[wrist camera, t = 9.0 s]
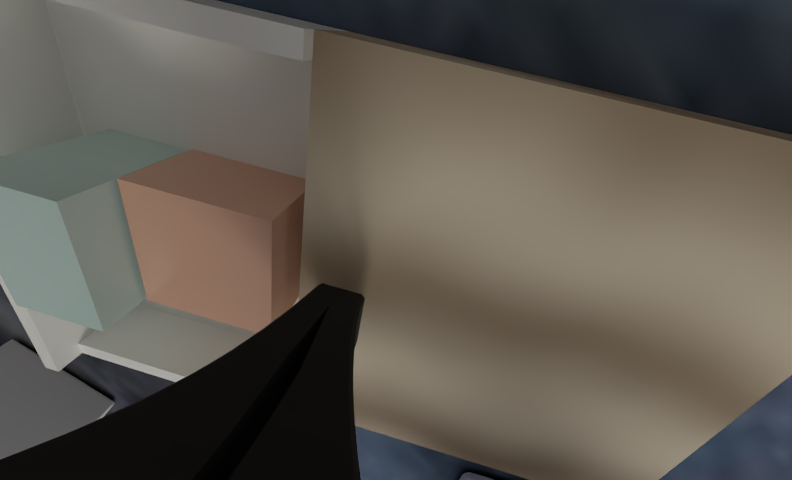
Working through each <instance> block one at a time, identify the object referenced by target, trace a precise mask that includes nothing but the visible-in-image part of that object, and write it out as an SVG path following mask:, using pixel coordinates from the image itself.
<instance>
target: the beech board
mask: <svg viewBox="0 0 792 480" xmlns="http://www.w3.org/2000/svg"><path fill="white" fill-rule="evenodd" d="M321 283H324V284H327V285H331V286H334V287H338V288H341V289H345V290H349V291H352V292H356V293H359V294H362V295H363V296H364V298H365V301H364V306H363V312H362V317H361V322H360V328H359V333H358V339H357V343H356V346H355V349H354V364H353V396H354V418H355V426H358V427H361V428H364V429H368V430H371V431H374V432H377V433H381V434H384V435H387V436H390V437H393V438H397V439H400V440H403V441H406V442H409V443H413V444H416V445H419V446H422V447H426V448H429V449H432V450H435V451H438V452H442V453H445V454H448V455H451V456H455V457H458V458H461V459H464V460H467V461H471V462H474V463H477V464H480V465H484V466H487V467H490V468H493V469H496V470H500V471H503V472H506V473H509V474H513V475H516V476H519V477H522V478H525V479H529V480H659V479H660V478H661V477H663V476H664V475H665V474H666V473H668V472H669V471H670V470H671V469H673V468H674V467H675V466H677V465H678V464H679V463H680V462H682V461H683V460H684V459H685V458H687V457H688V456H689V455H690V454H692V453H693V452H694V451H696V450H697V449H698V448H699V447H701V446H702V445H703V444H704V443H706V442H707V441H708V440H709V439H711V438H712V437H713V436H715V435H716V434H717V433H718V432H720V431H721V430H722V429H723V428H725V427H726V426H727V425H728V424H730V423H731V422H732V421H734V420H735V419H736V418H737V417H739V416H740V415H741V414H742V413H744V412H745V411H746V410H747V409H749V408H750V407H751V406H753V405H754V404H755V403H756V402H758V401H759V400H760V399H761V398H763V397H764V396H765V395H766V394H768V393H769V392H770V391H772V390H773V389H774V388H775V387H777V386H778V385H779V384H780V383H782V382H783V381H784V380H786V379H787V378H788V377H789V376H791V375H792V135H791V134H786V133H782V132H778V131H773V130H769V129H765V128H761V127H756V126H752V125H748V124H743V123H739V122H735V121H731V120H726V119H722V118H718V117H713V116H709V115H705V114H701V113H696V112H692V111H688V110H684V109H679V108H675V107H671V106H666V105H662V104H658V103H654V102H649V101H645V100H641V99H636V98H632V97H628V96H624V95H619V94H615V93H611V92H607V91H602V90H598V89H594V88H589V87H585V86H581V85H577V84H572V83H568V82H564V81H559V80H555V79H551V78H547V77H542V76H538V75H534V74H530V73H525V72H521V71H517V70H512V69H508V68H504V67H500V66H495V65H491V64H487V63H482V62H478V61H474V60H470V59H465V58H461V57H457V56H453V55H448V54H444V53H440V52H435V51H431V50H427V49H423V48H418V47H414V46H410V45H405V44H401V43H397V42H393V41H388V40H384V39H380V38H375V37H371V36H367V35H363V34H358V33H354V32H350V31H334V30H317V29H314V41H313V58H312V76H311V93H310V110H309V128H308V145H307V163H306V180H305V197H304V215H303V232H302V250H301V267H300V284H299V301H300V300H301V299H302V298H303V297H305V296H306V295H307V294H308V293H309V292H311V291H312V290H313V289H314V288H315V287H316V286H318V285H319V284H321Z"/></svg>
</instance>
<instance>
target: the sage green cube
mask: <svg viewBox="0 0 792 480" xmlns="http://www.w3.org/2000/svg"><path fill="white" fill-rule="evenodd" d="M186 151H189V150H186V149H183V148H179V147H175V146H171V145H168V144H164V143H160V142H156V141H153V140H149V139H145V138H141V137H138V136H134V135H130V134H126V133H123V132H119V131H115V130H112V129H109V130H105V131H101V132H97V133H93V134H89V135H85V136H81V137H77V138H73V139H69V140H65V141H61V142H57V143H53V144H49V145H45V146H41V147H37V148H33V149H29V150H25V151H20V152H16V153H12V154H8V155H4V156H0V275H1V277H2V279H3V281H4V282H5V284H6V286H7V288H8V290H9V292H10V294H11V296H12V298H13V299H14V301H15V303H16V305H18V306H21V307H24V308H27V309H31V310H34V311H37V312H40V313H44V314H47V315H50V316H53V317H57V318H60V319H63V320H66V321H70V322H73V323H76V324H79V325H82V326H86V327H89V328H92V329H95V330H99V331H102V332H105V331H106V330H107V329H108V328H110V327H111V326H112V325H114V324H115V323H116V322H117V321H119V320H120V319H121V318H122V317H124V316H125V315H126V314H127V313H129V312H130V311H131V310H132V309H134V308H135V307H136V306H138V305H139V304H140V303H141V302H143V301H144V300H145V299H146V298H147V296H146V292H145V288H144V284H143V280H142V276H141V272H140V268H139V264H138V260H137V257H136V253H135V249H134V245H133V241H132V237H131V233H130V229H129V225H128V221H127V217H126V213H125V209H124V205H123V201H122V197H121V193H120V189H119V185H118V181H117V178H120V177H122V176H125V175H127V174H130V173H133V172H135V171H138V170H140V169H143V168H145V167H148V166H150V165H153V164H156V163H158V162H161V161H163V160H166V159H168V158H171V157H173V156H176V155H179V154H181V153H184V152H186Z"/></svg>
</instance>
